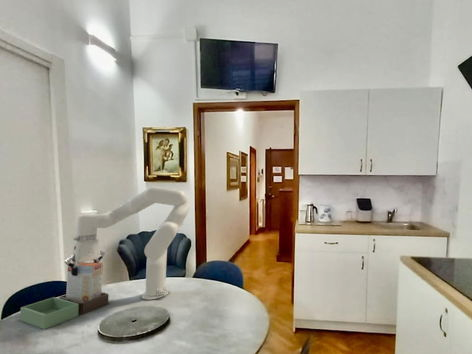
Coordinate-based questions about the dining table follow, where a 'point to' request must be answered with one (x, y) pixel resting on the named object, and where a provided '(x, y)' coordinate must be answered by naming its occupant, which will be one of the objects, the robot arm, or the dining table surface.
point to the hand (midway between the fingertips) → (85, 272)
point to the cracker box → (85, 282)
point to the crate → (89, 303)
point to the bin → (49, 312)
